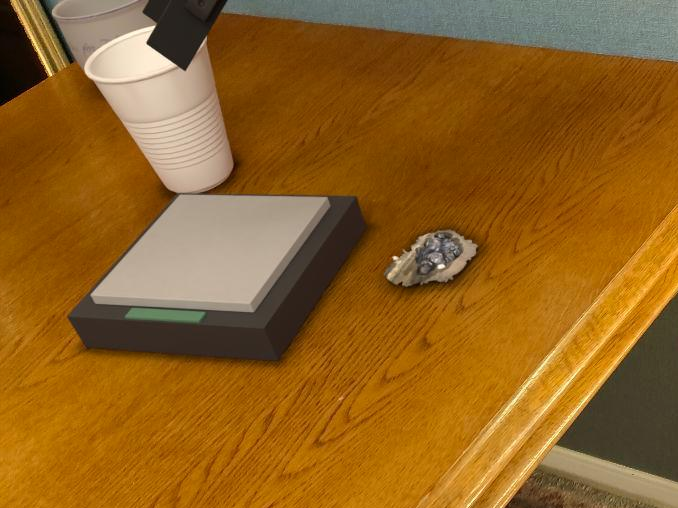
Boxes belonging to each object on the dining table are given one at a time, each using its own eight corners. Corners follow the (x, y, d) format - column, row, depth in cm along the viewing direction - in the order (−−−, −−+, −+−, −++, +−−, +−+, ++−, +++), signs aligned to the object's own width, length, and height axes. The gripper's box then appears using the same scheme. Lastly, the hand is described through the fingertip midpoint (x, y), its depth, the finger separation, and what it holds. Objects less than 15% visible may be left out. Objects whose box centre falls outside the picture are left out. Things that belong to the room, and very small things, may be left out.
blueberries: (380, 299, 71) (373, 276, 70) (394, 236, 76) (387, 214, 75) (474, 288, 70) (468, 265, 69) (481, 225, 75) (476, 203, 74)
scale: (85, 347, 73) (60, 307, 70) (191, 223, 82) (173, 183, 80) (278, 361, 68) (259, 318, 65) (366, 228, 78) (353, 185, 75)
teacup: (70, 101, 103) (28, 20, 97) (121, 52, 109) (85, -26, 103) (188, 96, 99) (152, 12, 93) (233, 46, 106) (203, -35, 100)
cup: (146, 221, 84) (81, 92, 75) (144, 167, 90) (84, 43, 82) (261, 188, 84) (210, 56, 76) (250, 137, 91) (202, 11, 83)
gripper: (420, -205, 57) (224, 112, 63) (344, -199, 77) (199, 44, 82) (308, -320, 53) (109, 32, 59) (258, -283, 72) (111, -20, 78)
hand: (161, 40), depth 71 cm, fingers open, 13 cm apart
